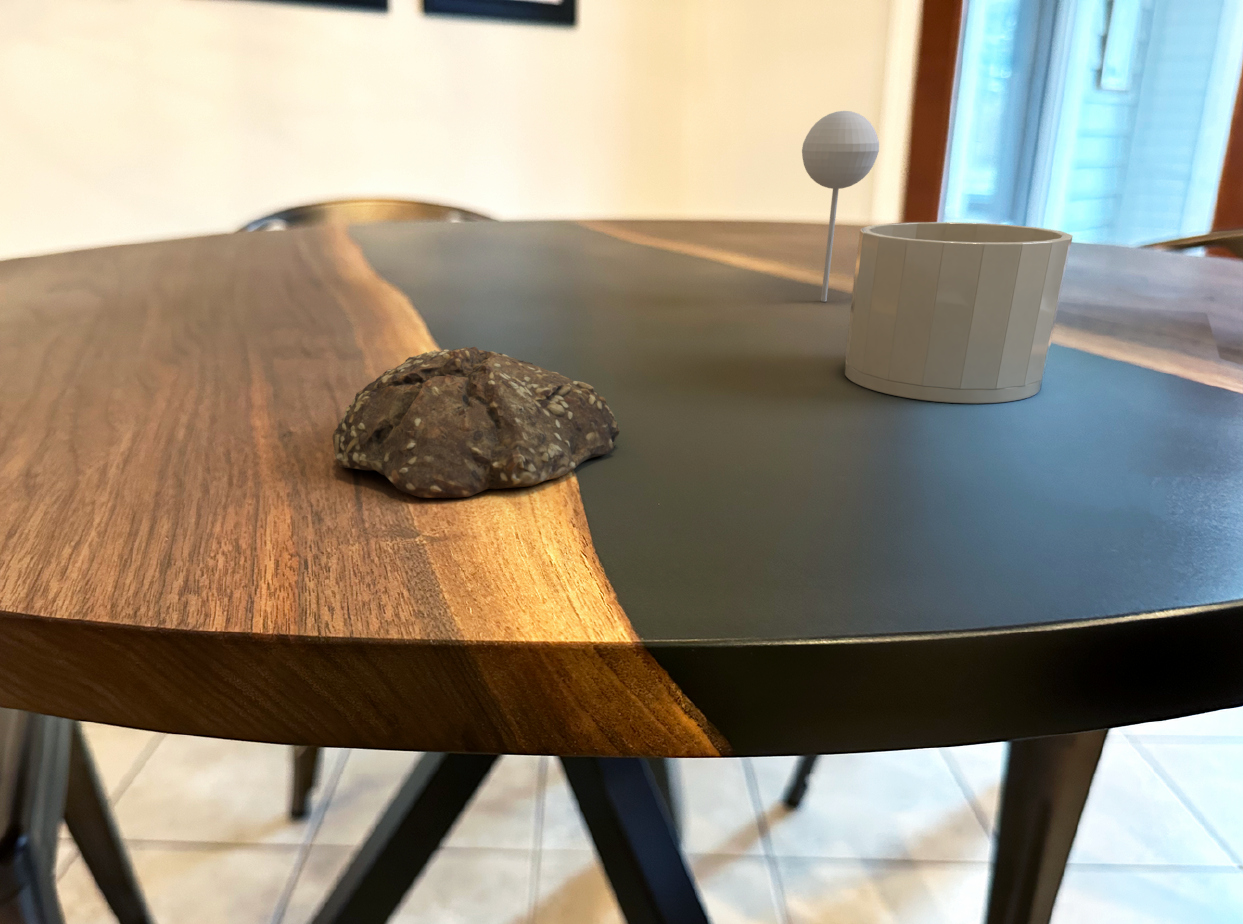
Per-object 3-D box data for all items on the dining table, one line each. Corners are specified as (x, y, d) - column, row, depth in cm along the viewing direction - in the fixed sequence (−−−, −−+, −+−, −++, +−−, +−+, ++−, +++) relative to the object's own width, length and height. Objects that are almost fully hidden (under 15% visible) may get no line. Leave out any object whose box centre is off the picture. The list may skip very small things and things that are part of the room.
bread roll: (443, 402, 53) (438, 312, 51) (644, 435, 47) (648, 335, 45) (275, 470, 42) (261, 362, 41) (506, 523, 37) (502, 399, 35)
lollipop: (773, 297, 82) (789, 111, 77) (828, 292, 85) (848, 110, 79) (818, 309, 77) (840, 110, 71) (875, 304, 79) (900, 109, 73)
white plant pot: (972, 353, 62) (995, 219, 59) (1084, 398, 52) (1119, 240, 49) (815, 360, 61) (829, 223, 58) (898, 408, 51) (921, 245, 48)
